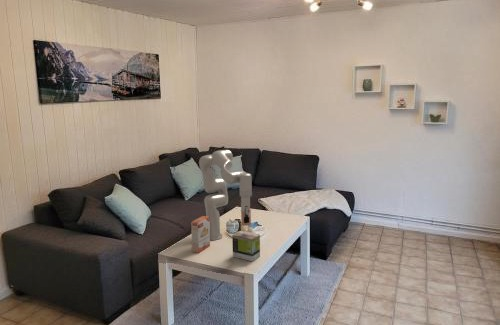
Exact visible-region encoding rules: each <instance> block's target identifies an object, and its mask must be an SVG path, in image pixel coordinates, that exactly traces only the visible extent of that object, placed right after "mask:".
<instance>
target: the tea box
mask: <svg viewBox="0 0 500 325" xmlns="http://www.w3.org/2000/svg"><path fill="white" fill-rule="evenodd" d="M260 238H261V235H260V234H259V233H254V232H249V231H244V230H239V231H238V232H236V233H234V234H232V240H231V241H232V257H234V258H238V259H242V260H245V261H249V262H254V261H255V260H257V259H258V258H259V257H261V239H260Z"/></svg>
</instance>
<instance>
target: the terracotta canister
mask: <svg viewBox="0 0 500 325" xmlns="http://www.w3.org/2000/svg"><path fill="white" fill-rule="evenodd" d="M245 212H246V211H245ZM245 214H246V213H245ZM240 218H241V220H240V221H241V224H240V225H242V226H244V227H245V226H246V227H247V226H251V225H252V209H250V212H249V223H244V212H242V211H241V210H240Z"/></svg>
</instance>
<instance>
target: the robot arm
mask: <svg viewBox="0 0 500 325" xmlns="http://www.w3.org/2000/svg"><path fill="white" fill-rule="evenodd" d="M233 159H234V155H233V153H232V151H231V150H229V149H221V150H216V151H213V152H212V154H206V155H202V156H201V157H200V158H199V161H198V165H199V168H200V171H201V173H202V180H203V187H204V192H206V193H207V194H208V195H206V196H205V198H204V199H203V203H204V207H205V208H204V209H205V216H207V217H210V241H218V240H221V239H222V238H223V234H222V233H221V226H220V225H221V220H220V211H219V210H218V209H217V208H220V207H224V206H226V205H228V204H229V195H228V194H229V192H228V187H227V185H236V184H239V185H238V186H239V197H241V198H240V212H241V211H242V212H244V223H249V212H250V210H251V197H252V196H253V191H252V189H253V187H252V185H253V184H252V182H253V181H252V178H253V177H252V174H251V173H248V172H246V171H244V170H237V171H230V170H231V169H232V167H233V161H232V160H233ZM212 167H218V168H220V170H219V172H220V176H221V177H216V174H215V172H214V170H213V168H212ZM217 192H218V193H217ZM211 193H212V194H211ZM245 211H246V212H245ZM245 213H246V214H245Z"/></svg>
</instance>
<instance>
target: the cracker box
mask: <svg viewBox="0 0 500 325" xmlns="http://www.w3.org/2000/svg"><path fill="white" fill-rule="evenodd" d="M190 226H191V228H190V229H191V252H192V253H197V254H200V253H201V252H202V251H205V250H206V249H207V248H208V247H210V246H211V240H210V217H207V216H206V215H201V216H200V217H198V218H196V219H194V220H193V221H191V222H190Z"/></svg>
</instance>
